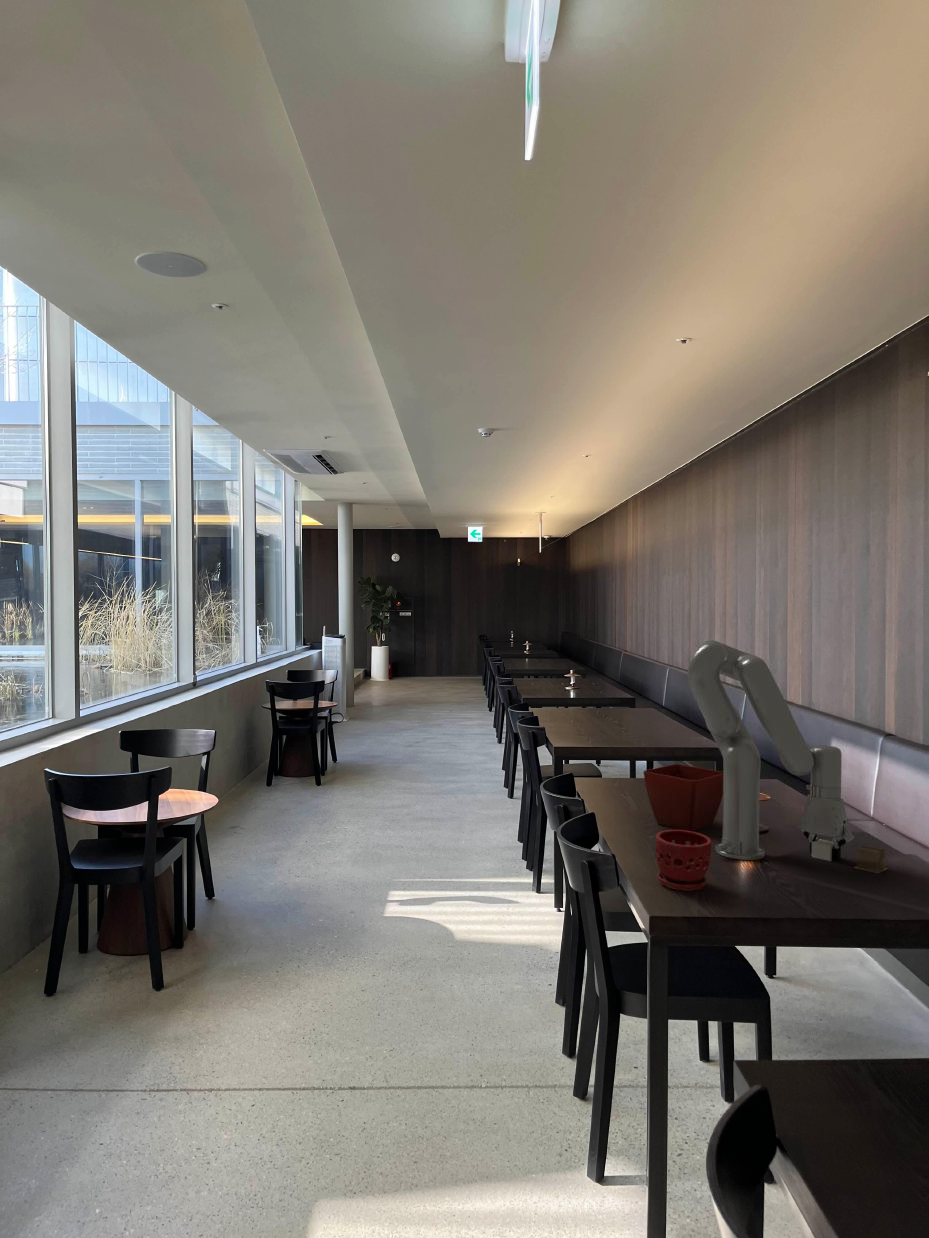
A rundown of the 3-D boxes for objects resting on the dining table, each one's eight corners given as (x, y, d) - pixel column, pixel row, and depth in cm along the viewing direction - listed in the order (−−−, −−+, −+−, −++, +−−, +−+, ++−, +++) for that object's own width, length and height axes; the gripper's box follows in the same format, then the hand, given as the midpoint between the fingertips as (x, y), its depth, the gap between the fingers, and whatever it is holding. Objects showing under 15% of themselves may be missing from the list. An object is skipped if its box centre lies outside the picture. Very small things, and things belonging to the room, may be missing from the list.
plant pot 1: (694, 836, 240) (694, 780, 240) (641, 823, 254) (641, 770, 254) (728, 825, 253) (728, 772, 252) (675, 814, 267) (676, 763, 267)
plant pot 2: (644, 885, 196) (645, 836, 196) (673, 873, 205) (673, 826, 205) (693, 898, 186) (693, 847, 186) (720, 885, 196) (721, 836, 196)
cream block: (829, 865, 213) (830, 846, 213) (811, 860, 217) (811, 842, 217) (838, 861, 216) (838, 843, 216) (820, 857, 220) (820, 839, 220)
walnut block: (877, 872, 204) (877, 852, 204) (856, 867, 208) (857, 848, 208) (885, 868, 207) (885, 848, 207) (865, 863, 211) (865, 844, 211)
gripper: (788, 788, 220) (787, 854, 221) (851, 799, 208) (850, 869, 208) (801, 785, 225) (801, 849, 225) (864, 795, 213) (863, 864, 213)
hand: (824, 858), depth 217 cm, fingers closed on cream block, 5 cm apart
